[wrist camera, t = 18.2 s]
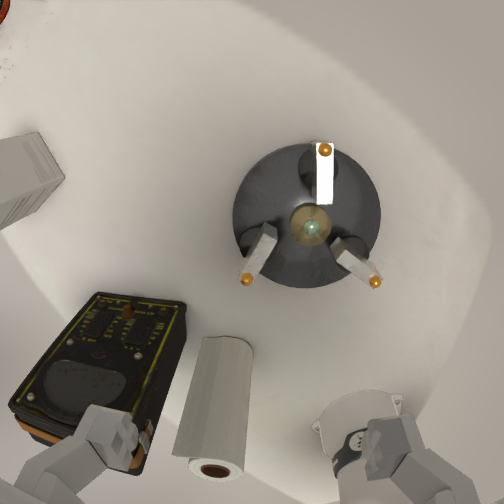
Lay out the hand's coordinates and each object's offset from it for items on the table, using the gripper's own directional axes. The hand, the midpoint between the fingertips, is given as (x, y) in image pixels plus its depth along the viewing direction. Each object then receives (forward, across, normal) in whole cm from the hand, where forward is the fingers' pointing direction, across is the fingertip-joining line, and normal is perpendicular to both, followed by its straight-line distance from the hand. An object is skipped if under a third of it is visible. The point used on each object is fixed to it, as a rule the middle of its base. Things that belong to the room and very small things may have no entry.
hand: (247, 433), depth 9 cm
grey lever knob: (+29, -6, -4) cm, 30 cm away
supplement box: (+31, +33, -6) cm, 46 cm away
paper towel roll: (+31, +5, +23) cm, 39 cm away
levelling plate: (+31, -5, +2) cm, 32 cm away
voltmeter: (+31, +19, +17) cm, 40 cm away
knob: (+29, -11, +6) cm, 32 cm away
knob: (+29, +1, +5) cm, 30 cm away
